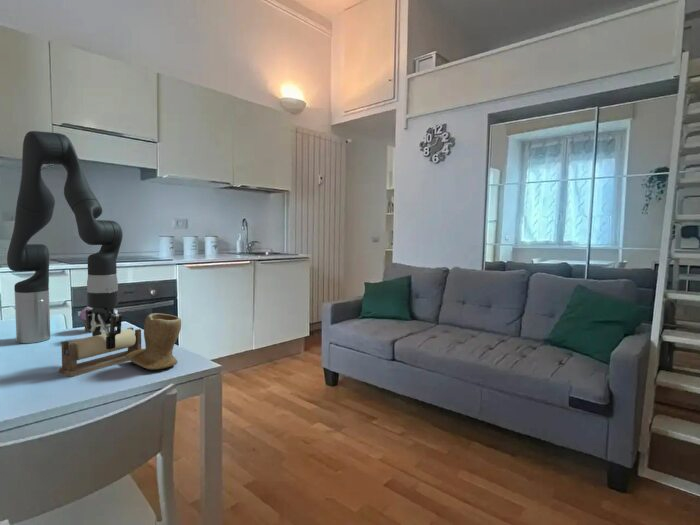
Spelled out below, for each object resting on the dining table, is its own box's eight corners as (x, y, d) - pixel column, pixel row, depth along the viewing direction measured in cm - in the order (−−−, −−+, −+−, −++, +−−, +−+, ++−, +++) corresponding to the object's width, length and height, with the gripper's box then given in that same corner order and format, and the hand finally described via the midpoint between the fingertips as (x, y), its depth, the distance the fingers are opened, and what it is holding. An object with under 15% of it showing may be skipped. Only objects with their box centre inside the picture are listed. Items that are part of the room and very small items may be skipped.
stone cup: (188, 365, 117) (188, 315, 116) (147, 376, 108) (146, 321, 107) (164, 354, 127) (164, 307, 126) (124, 363, 118) (123, 313, 116)
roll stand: (58, 372, 108) (57, 342, 108) (132, 353, 127) (131, 326, 126) (70, 377, 106) (70, 345, 105) (144, 356, 124) (143, 329, 123)
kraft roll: (61, 360, 109) (61, 340, 108) (130, 343, 126) (130, 326, 125) (72, 364, 106) (72, 344, 106) (141, 346, 123) (141, 329, 123)
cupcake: (101, 327, 158) (101, 302, 157) (112, 330, 153) (111, 305, 152) (76, 331, 151) (75, 305, 150) (86, 335, 146) (85, 308, 145)
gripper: (74, 289, 115) (76, 346, 116) (104, 293, 108) (105, 354, 109) (101, 286, 121) (102, 340, 122) (130, 290, 114) (131, 347, 116)
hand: (104, 346), depth 116 cm, fingers open, 6 cm apart
